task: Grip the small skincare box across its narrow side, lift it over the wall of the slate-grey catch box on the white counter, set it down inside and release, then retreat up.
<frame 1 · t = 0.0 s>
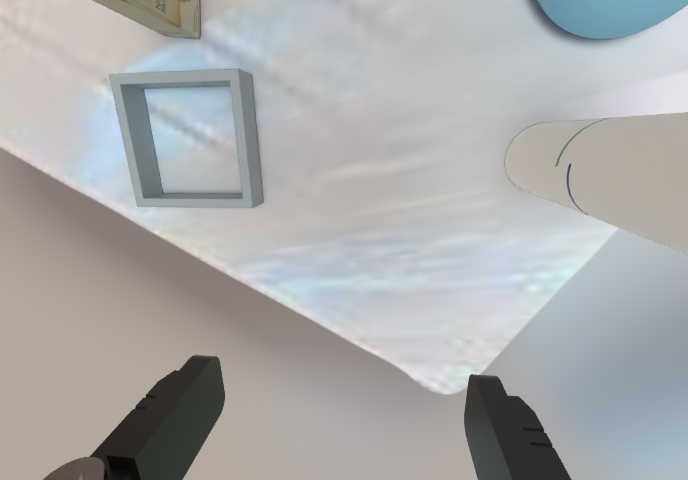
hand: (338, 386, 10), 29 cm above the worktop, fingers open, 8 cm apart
catch box: (200, 142, 38), on the worktop
cylindrical container: (539, 158, 35), on the worktop
skincare box: (181, 4, 34), on the worktop
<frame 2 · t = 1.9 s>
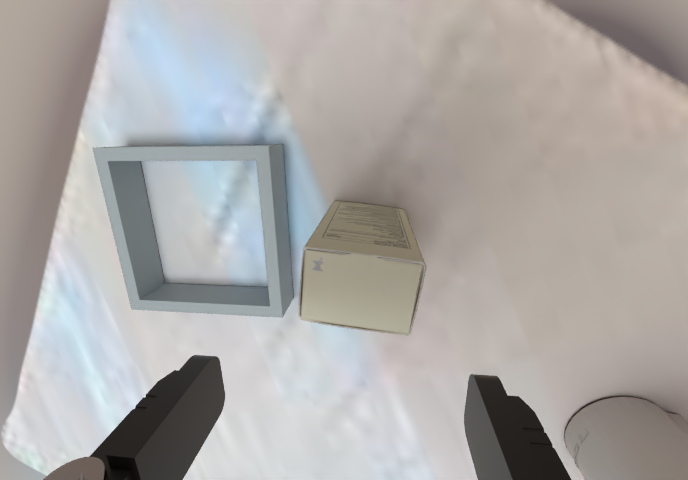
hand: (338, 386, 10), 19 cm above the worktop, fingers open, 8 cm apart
catch box: (213, 225, 29), on the worktop
skincare box: (367, 227, 28), on the worktop
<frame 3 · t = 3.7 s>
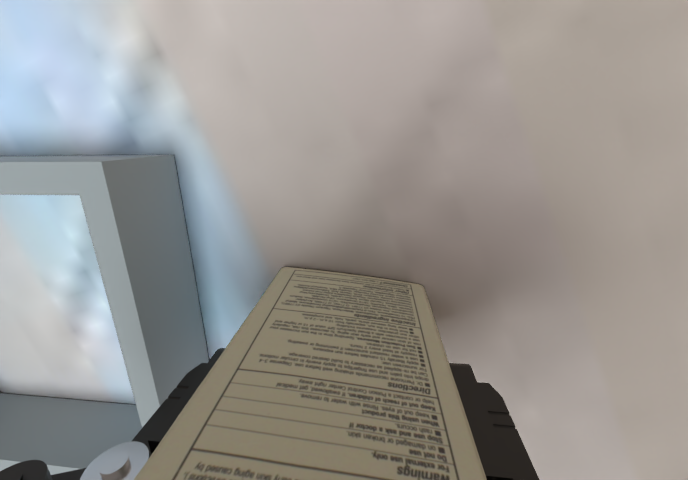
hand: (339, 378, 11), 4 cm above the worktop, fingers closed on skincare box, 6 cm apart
catch box: (65, 303, 16), on the worktop
skincare box: (351, 315, 14), on the worktop, touching gripper
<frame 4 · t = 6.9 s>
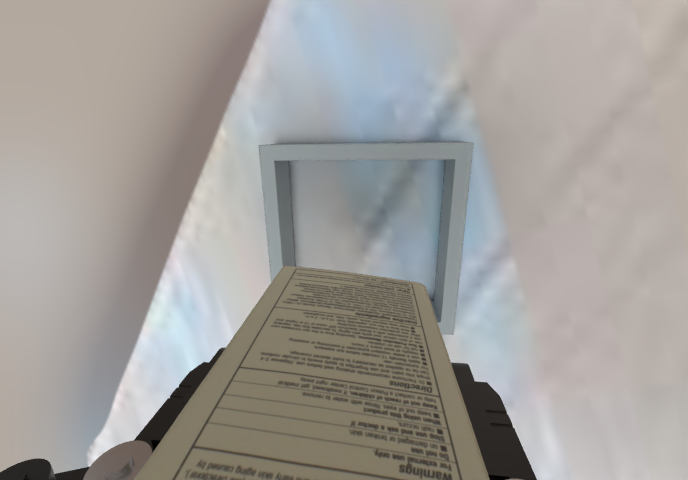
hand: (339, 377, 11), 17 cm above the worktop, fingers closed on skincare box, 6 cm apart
catch box: (364, 231, 27), on the worktop
skincare box: (352, 314, 14), point 13 cm above the worktop, touching gripper
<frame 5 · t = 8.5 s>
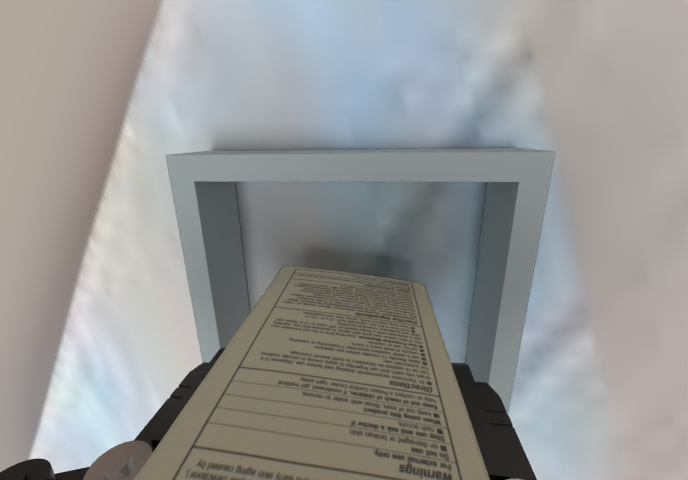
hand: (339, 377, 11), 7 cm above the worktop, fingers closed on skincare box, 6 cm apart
catch box: (355, 286, 17), on the worktop
skincare box: (352, 313, 14), point 3 cm above the worktop, touching gripper
when the fingers open (6 cm above the worktop, at t = 9.8 s): skincare box drops 2 cm, resting in catch box.
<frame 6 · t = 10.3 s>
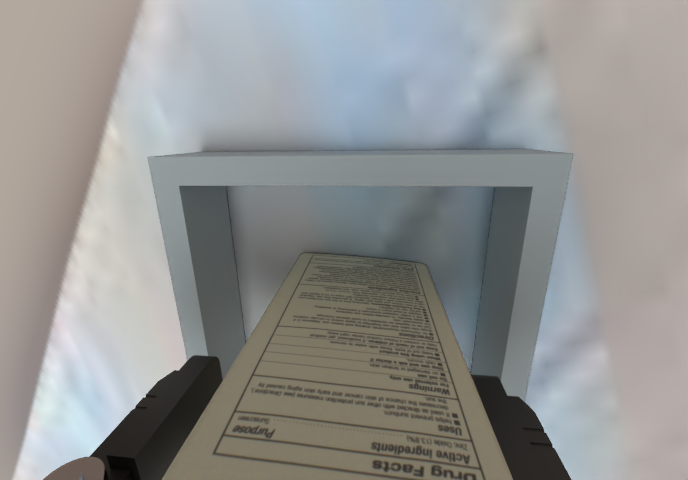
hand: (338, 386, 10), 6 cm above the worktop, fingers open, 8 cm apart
catch box: (354, 296, 16), on the worktop
skincare box: (363, 294, 16), resting in catch box
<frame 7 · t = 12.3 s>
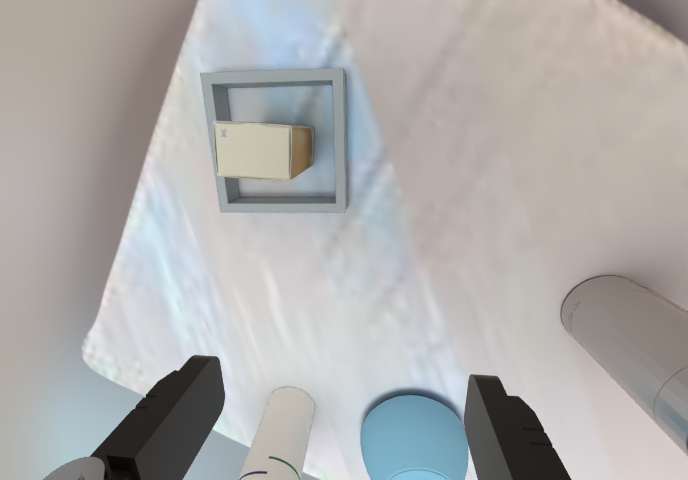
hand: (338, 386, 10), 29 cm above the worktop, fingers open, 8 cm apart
sugar bowl: (410, 425, 49), on the worktop
catch box: (285, 144, 37), on the worktop
cylindrical container: (291, 404, 49), on the worktop
skincare box: (289, 144, 37), resting in catch box
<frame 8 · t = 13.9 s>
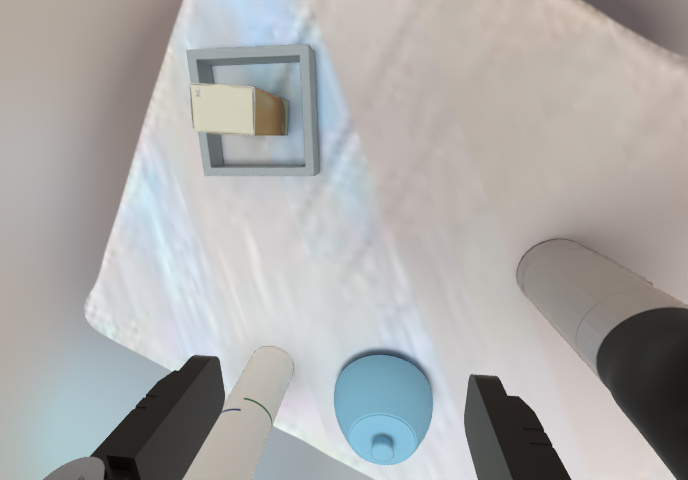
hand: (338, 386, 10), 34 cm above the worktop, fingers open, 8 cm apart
sugar bowl: (382, 386, 52), on the worktop
catch box: (262, 116, 41), on the worktop
cylindrical container: (272, 363, 53), on the worktop
skincare box: (266, 116, 41), resting in catch box
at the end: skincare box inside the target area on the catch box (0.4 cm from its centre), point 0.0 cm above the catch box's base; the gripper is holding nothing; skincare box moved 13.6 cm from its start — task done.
